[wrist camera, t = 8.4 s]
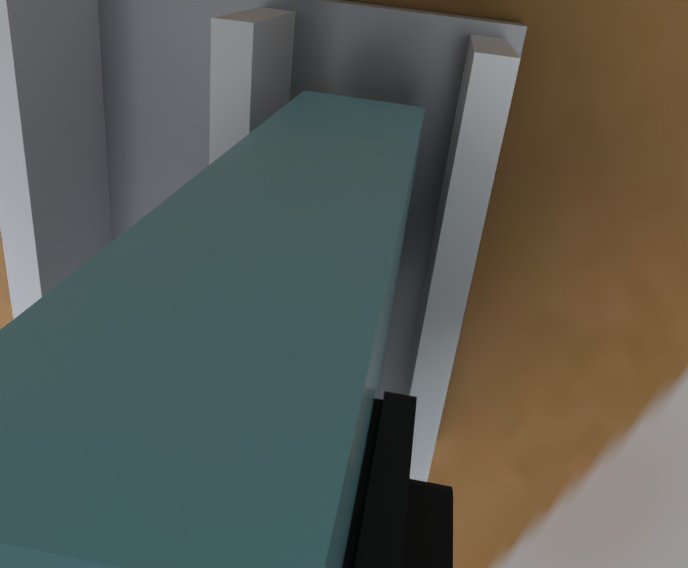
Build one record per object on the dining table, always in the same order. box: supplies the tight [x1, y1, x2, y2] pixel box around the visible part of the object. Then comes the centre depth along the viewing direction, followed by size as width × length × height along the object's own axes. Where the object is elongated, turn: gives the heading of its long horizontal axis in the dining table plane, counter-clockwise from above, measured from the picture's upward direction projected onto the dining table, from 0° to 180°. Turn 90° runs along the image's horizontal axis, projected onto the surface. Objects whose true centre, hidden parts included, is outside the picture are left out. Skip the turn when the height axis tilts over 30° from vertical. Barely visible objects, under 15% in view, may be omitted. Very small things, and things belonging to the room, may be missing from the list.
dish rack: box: [0, 0, 527, 482], centre depth 16 cm, size 13×11×4 cm
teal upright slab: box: [0, 90, 426, 568], centre depth 10 cm, size 10×2×11 cm, turn 174°
